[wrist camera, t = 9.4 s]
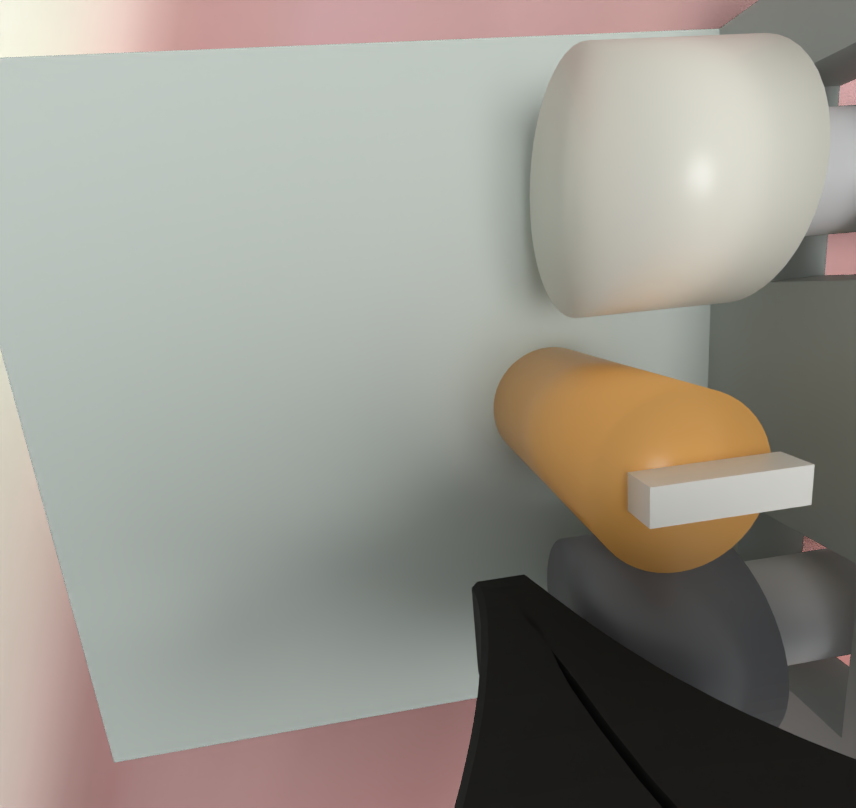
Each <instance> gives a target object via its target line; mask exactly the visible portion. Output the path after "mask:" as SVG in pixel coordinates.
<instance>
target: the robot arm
mask: <svg viewBox="0 0 856 808" xmlns="http://www.w3.org/2000/svg"><path fill="white" fill-rule="evenodd" d="M472 600H473V613H474V625H475V638H476V651H477V663H478V672H479V685H478V696H477V703H476V710H475V717H474V723H473V728H472V734H471V740H470V745H469V750H468V754H467V758H466V763H465V767H464V772H463V776H462V780H461V785H460V789H459V792H458V796H457V800H456V804H455V808H856V759H854V758H851V757H849V756H846V755H843V754H841V753H838V752H836V751H833V750H831V749H828V748H826V747H823V746H821V745H818V744H816V743H813V742H811V741H808V740H806V739H803V738H801V737H799V736H796V735H794V734H792V733H790V732H787V731H785V730H783V729H781V728H778V727H776V726H774V725H771V724H769V723H767V722H765V721H762V720H760V719H758V718H756V717H753V716H751V715H749V714H747V713H745V712H743V711H740V710H738V709H736V708H734V707H732V706H730V705H728V704H726V703H724V702H722V701H720V700H718V699H716V698H714V697H712V696H710V695H708V694H706V693H704V692H703V691H701V690H699V689H697V688H695V687H693V686H691V685H689V684H687V683H685V682H684V681H682V680H680V679H678V678H676V677H674V676H672V675H671V674H669V673H667V672H665V671H664V670H662V669H660V668H658V667H657V666H655V665H653V664H652V663H650V662H649V661H647V660H645V659H644V658H642V657H641V656H639V655H637V654H636V653H634V652H632V651H631V650H629V649H628V648H626V647H624V646H623V645H621V644H620V643H618V642H617V641H615V640H614V639H612V638H611V637H609V636H608V635H606V634H605V633H603V632H602V631H600V630H599V629H597V628H596V627H595V626H593V625H592V624H590V623H589V622H587V621H586V620H585V619H583V618H582V617H580V616H579V615H578V614H576V613H575V612H574V611H572V610H571V609H570V608H568V607H567V606H565V605H564V604H563V603H561V602H560V601H559V600H557V599H556V598H555V597H554V596H552V595H551V594H550V593H548V592H547V591H546V590H544V589H543V588H542V587H540V586H539V585H538V584H536V583H535V582H534V581H533V580H531V579H530V578H528V577H527V576H526V575H524V574H523V575H517V576H510V577H504V578H497V579H491V580H485V581H478V582H476V583H475V585H474V586H473V587H472Z"/></svg>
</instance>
